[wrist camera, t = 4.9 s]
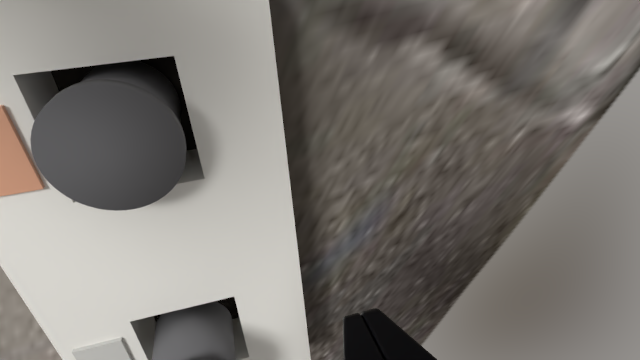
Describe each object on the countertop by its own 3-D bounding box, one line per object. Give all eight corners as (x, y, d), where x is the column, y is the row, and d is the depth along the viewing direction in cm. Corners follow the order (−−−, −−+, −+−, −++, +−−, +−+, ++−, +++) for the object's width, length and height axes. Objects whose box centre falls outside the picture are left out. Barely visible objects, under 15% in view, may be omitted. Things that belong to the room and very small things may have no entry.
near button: (198, 145, 18) (198, 196, 15) (93, 163, 18) (65, 222, 14) (173, 45, 16) (166, 75, 12) (49, 59, 15) (2, 96, 11)
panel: (301, 327, 27) (312, 369, 24) (115, 376, 25) (105, 428, 22) (253, -38, 15) (265, -35, 13) (-105, -10, 13) (-181, 1, 10)
